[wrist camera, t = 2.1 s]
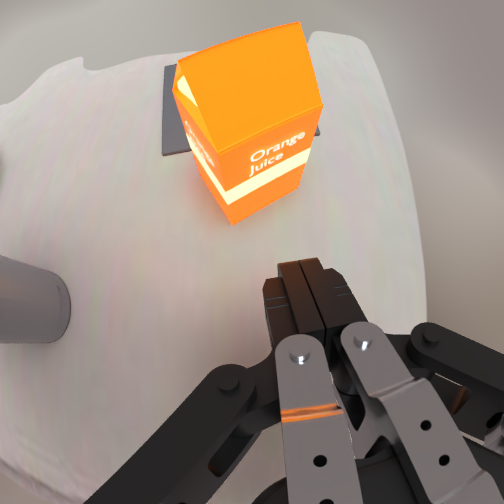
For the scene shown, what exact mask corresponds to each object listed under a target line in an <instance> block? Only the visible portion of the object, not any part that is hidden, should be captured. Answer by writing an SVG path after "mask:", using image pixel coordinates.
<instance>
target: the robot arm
mask: <svg viewBox="0 0 504 504" xmlns="http://www.w3.org/2000/svg"><path fill="white" fill-rule="evenodd" d="M277 267H278V277H276V278H270V279H266V281H265V284H264V286H263V298H264V306H265V314H266V321H267V326H268V331H269V336H270V341H271V346H272V351H271V353H270V354H269V356H268V357H267V358H266V359H265V360H264V361H262V362H261V363H259V364H257V365H254V366H252V367H250V368H248V369H246V368H245V367H243V366H240V365H236V364H226V365H222V366H219V367H217V368H215V369H214V370H212V371H211V372H210V373H209V374H208V375H207V376H206V377H205V378H204V379H203V380H202V382H201V383H200V384H199V385H198V386H197V387H196V388H195V389H194V391H193V392H192V393H191V394H190V395H189V396H188V397H187V398H186V399H185V401H184V402H183V403H182V404H181V405H180V406H179V407H178V408H177V409H176V410H175V411H174V413H173V414H172V415H171V416H170V417H169V418H168V419H167V420H166V421H165V422H164V423H163V424H162V425H161V426H160V428H159V429H158V430H157V431H156V432H155V433H154V434H153V435H152V436H151V437H150V438H149V439H148V440H147V441H146V442H145V443H144V444H143V445H142V446H141V447H140V448H139V449H138V450H137V452H136V453H135V454H134V455H133V456H132V457H131V458H130V459H129V460H128V461H127V462H126V463H125V464H124V465H123V466H122V467H121V468H120V469H119V470H118V471H117V472H116V473H115V474H114V475H113V476H112V477H111V478H110V479H108V480H107V481H106V482H105V483H104V484H103V485H102V486H101V487H100V488H99V489H98V490H97V491H96V492H95V493H94V494H93V495H92V496H91V497H90V498H89V499H88V500H86V501H85V502H84V503H83V504H206V503H207V502H208V500H209V499H210V498H211V497H212V496H213V494H214V493H215V492H216V491H217V490H218V489H219V487H220V486H221V485H222V484H223V482H224V481H225V480H226V479H227V477H228V476H229V475H230V474H231V472H232V471H233V470H234V469H235V467H236V466H237V465H238V463H239V462H240V461H241V459H242V458H243V457H244V456H245V454H246V453H247V451H248V450H249V449H250V447H251V446H252V445H253V443H254V442H255V441H256V439H257V438H258V436H259V435H260V434H261V432H262V430H264V429H266V428H268V427H270V426H272V425H274V424H277V423H279V422H281V424H282V435H283V446H284V457H285V469H286V477H285V478H283V479H281V480H279V481H277V482H275V483H274V484H272V485H271V486H269V487H268V488H267V489H265V490H264V491H263V492H262V493H261V494H260V495H259V496H258V497H257V498H256V499H255V500H254V501H253V503H252V504H504V354H501V353H499V352H497V351H495V350H493V349H490V348H488V347H486V346H484V345H482V344H480V343H477V342H475V341H473V340H471V339H469V338H466V337H464V336H462V335H460V334H457V333H455V332H453V331H451V330H449V329H446V328H444V327H442V326H439V325H437V324H435V323H429V322H426V323H421V324H418V325H417V326H415V327H414V328H413V330H412V332H411V335H393V334H386V333H384V332H383V331H382V329H381V328H379V327H378V326H377V325H375V324H373V323H369V322H368V321H367V319H366V317H365V315H364V313H363V311H362V310H361V308H360V306H359V304H358V302H357V301H356V299H355V297H354V295H353V294H352V292H351V290H350V288H349V286H347V283H346V281H345V279H344V278H343V276H342V275H341V274H340V273H338V272H337V271H336V270H334V269H333V268H330V269H323V267H322V265H321V263H320V261H319V259H318V258H317V257H316V258H310V259H303V260H298V261H291V262H285V263H278V265H277ZM69 317H70V299H69V294H68V291H67V288H66V286H65V284H64V282H63V281H62V280H61V279H60V277H58V276H57V275H56V274H54V273H52V272H49V271H46V270H43V269H40V268H37V267H34V266H31V265H28V264H25V263H22V262H19V261H16V260H13V259H10V258H7V257H4V256H2V255H0V343H2V344H10V343H50V342H54V341H56V340H57V339H59V338H60V337H61V336H62V334H63V333H64V331H65V330H66V328H67V325H68V322H69ZM330 372H331V374H332V377H333V385H332V381H331V376H330ZM435 373H438V374H439V375H441V376H443V377H445V378H448V379H450V380H452V381H454V382H456V383H458V384H460V385H462V386H459V385H457V384H455V383H452V382H450V381H448V380H446V379H444V378H442V377H440V376H438V375H436V374H435ZM335 397H336V398H335ZM336 400H337V402H338V404H339V406H338V405H337V402H336ZM348 428H349V430H348ZM459 430H460V431H462V432H464V433H466V434H469V435H471V436H473V437H475V438H478V439H480V440H482V441H484V444H483V446H482V445H480V444H478V443H476V442H474V441H472V440H470V439H468V438H466V437H464V436H462V435H461V433H460V431H459ZM349 431H350V433H351V437H352V444H351V439H350V435H349ZM352 448H353V449H352ZM353 452H354V454H353ZM354 456H355V458H356V459H355V458H354Z"/></svg>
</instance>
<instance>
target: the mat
mask: <svg viewBox="0 0 504 504" xmlns="http://www.w3.org/2000/svg"><path fill="white" fill-rule="evenodd" d="M176 68H177V64H174V65H169V66H165V70H164V88H163V115H162V155H163V156H167V155H171V154H176V153H182V152H187V151H192V149H191V147H190V144H189V141H188V138H187V135H186V131H185V128H184V125H183V122H182V119H181V116H180V113H179V110H178V107H177V104H176V100H175V97H174V94H173V91H172V90H173V85H174V79H175V73H176ZM316 135H320V131H319V128H318V125H317V128H316V131H315V134H314V136H316Z"/></svg>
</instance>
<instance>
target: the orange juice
mask: <svg viewBox="0 0 504 504" xmlns="http://www.w3.org/2000/svg"><path fill="white" fill-rule="evenodd" d="M172 91H173V94H174V97H175V100H176V104H177V107H178V110H179V113H180V116H181V119H182V122H183V125H184V128H185V131H186V135H187V138H188V141H189V144H190V147H191V149H192V152H193V155H194V158H195V160H196V163H197V166H198V169H199V172H200V175H201V177H202V178H203V180H204V181H205V183H206V185H207V186H208V188H209V189H210V191H211V192H212V194H213V196H214V197H215V199H216V200H217V202H218V203H219V205H220V207H221V208H222V210H223V211H224V213H225V214H226V216H227V218H228V219H229V221H230V222H231V224H232V225H234V224H236V223H237V222H239V221H241V220H243V219H244V218H246V217H248V216H249V215H251V214H253V213H255V212H256V211H258V210H260V209H262V208H263V207H265V206H267V205H269V204H270V203H272V202H274V201H276V200H277V199H279V198H281V197H283V196H284V195H286V194H288V193H290V192H292V191H293V190H295V189H297V188H298V185H299V182H300V179H301V176H302V173H303V169H304V166H305V163H306V162H307V159H308V155H309V152H310V149H311V144H312V141H313V137H314V134H315V131H316V128H317V124H318V121H319V118H320V114H321V111H322V108H323V104H322V101H321V97H320V93H319V89H318V85H317V81H316V77H315V73H314V69H313V66H312V62H311V58H310V55H309V51H308V48H307V45H306V41H305V38H304V35H303V31H302V28H301V25H300V22H296V23H290V24H286V25H282V26H278V27H274V28H270V29H266V30H262V31H259V32H255V33H252V34H249V35H245V36H242V37H239V38H236V39H232V40H229V41H227V42H224V43H221V44H218V45H215V46H213V47H210V48H207V49H205V50H202V51H200V52H197V53H195V54H192V55H190V56H187V57H185V58H183V59H180V60H178V63H177V68H176V73H175V79H174V85H173V90H172Z"/></svg>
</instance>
